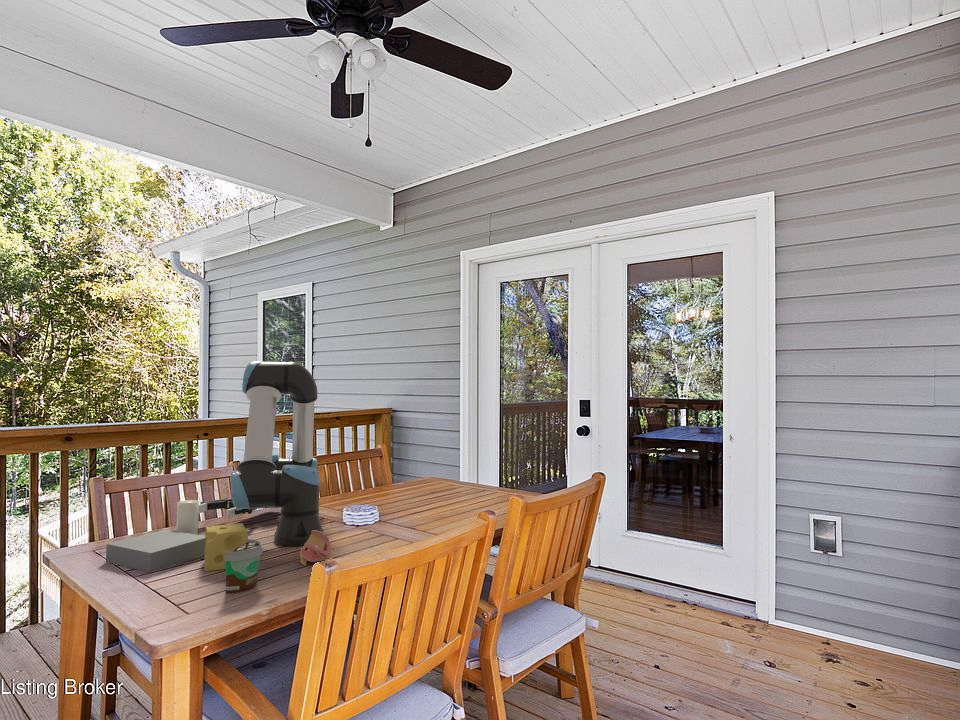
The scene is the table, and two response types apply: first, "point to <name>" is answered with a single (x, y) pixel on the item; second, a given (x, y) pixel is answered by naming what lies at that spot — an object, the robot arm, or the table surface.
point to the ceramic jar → (187, 516)
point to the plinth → (156, 550)
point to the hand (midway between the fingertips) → (209, 512)
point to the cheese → (222, 544)
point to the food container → (242, 567)
